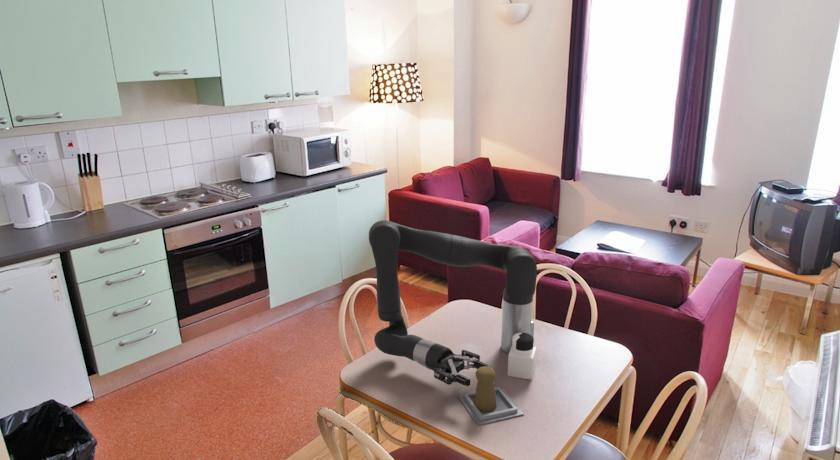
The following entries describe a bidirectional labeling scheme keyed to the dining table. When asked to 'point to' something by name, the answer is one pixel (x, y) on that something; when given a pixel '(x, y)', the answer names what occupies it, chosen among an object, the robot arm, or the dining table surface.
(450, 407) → the dining table surface
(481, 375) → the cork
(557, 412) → the dining table surface
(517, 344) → the medicine bottle
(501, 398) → the grey flat square tray
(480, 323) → the dining table surface
